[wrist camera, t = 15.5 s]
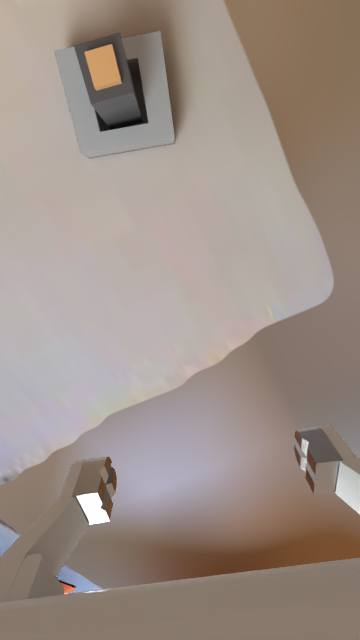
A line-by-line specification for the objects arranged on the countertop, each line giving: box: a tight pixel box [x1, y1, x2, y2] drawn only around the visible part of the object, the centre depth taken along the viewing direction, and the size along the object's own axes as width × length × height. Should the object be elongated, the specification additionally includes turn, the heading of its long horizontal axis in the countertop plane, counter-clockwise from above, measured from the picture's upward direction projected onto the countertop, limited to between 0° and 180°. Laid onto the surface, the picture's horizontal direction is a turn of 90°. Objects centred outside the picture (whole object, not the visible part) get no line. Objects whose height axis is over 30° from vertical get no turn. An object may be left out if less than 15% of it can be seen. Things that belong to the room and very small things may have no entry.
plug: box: [74, 33, 143, 130], centre depth 26 cm, size 4×4×10 cm
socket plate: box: [54, 31, 175, 158], centre depth 30 cm, size 11×9×4 cm
